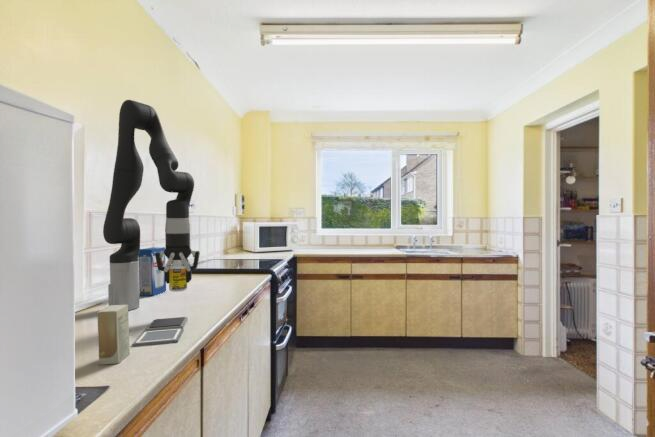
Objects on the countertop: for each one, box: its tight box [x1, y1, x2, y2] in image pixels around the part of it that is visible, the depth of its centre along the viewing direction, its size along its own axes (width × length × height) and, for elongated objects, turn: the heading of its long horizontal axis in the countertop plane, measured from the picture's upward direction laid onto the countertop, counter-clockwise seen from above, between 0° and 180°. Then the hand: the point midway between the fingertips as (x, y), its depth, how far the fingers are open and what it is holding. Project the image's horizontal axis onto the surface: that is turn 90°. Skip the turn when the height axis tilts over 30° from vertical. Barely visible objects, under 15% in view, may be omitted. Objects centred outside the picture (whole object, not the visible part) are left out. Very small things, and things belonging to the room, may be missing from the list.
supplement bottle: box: [168, 260, 188, 293], centre depth 123 cm, size 6×6×10 cm
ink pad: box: [145, 316, 188, 332], centre depth 113 cm, size 10×10×1 cm
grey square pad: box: [131, 328, 185, 347], centre depth 101 cm, size 11×10×1 cm
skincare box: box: [96, 305, 131, 365], centre depth 87 cm, size 6×4×12 cm
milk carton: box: [138, 246, 167, 297], centre depth 162 cm, size 10×6×20 cm, turn 172°
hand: (178, 282), depth 123 cm, fingers closed on supplement bottle, 5 cm apart
